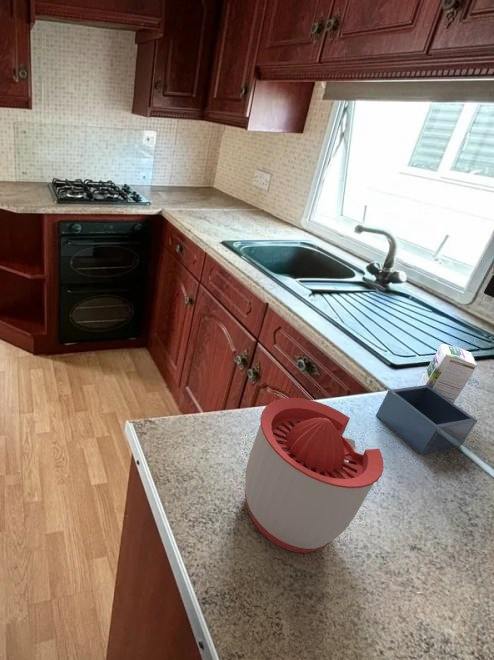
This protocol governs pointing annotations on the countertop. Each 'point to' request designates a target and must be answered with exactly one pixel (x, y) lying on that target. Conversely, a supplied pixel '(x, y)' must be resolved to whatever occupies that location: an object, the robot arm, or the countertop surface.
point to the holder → (425, 419)
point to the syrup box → (449, 371)
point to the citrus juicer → (306, 474)
